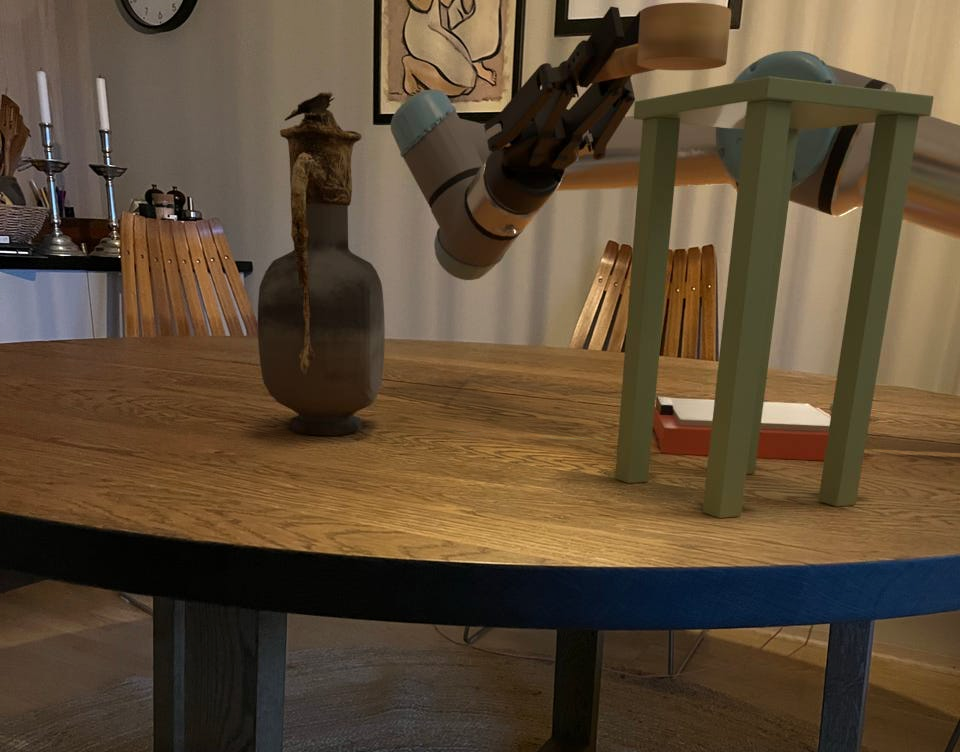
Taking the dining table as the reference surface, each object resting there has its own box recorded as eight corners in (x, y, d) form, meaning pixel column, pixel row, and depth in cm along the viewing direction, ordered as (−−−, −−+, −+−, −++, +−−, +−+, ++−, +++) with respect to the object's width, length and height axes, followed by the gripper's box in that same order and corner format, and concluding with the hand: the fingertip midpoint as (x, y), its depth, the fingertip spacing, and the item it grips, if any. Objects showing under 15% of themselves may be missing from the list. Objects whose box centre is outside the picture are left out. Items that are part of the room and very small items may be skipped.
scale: (815, 430, 112) (820, 398, 111) (857, 462, 96) (863, 425, 94) (649, 422, 114) (652, 391, 112) (662, 453, 97) (665, 416, 96)
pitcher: (390, 419, 111) (389, 106, 100) (364, 452, 93) (360, 76, 82) (289, 415, 111) (278, 103, 100) (244, 448, 93) (224, 73, 82)
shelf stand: (865, 506, 79) (934, 95, 69) (717, 520, 73) (768, 75, 63) (741, 467, 92) (783, 116, 81) (606, 477, 86) (634, 101, 76)
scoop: (744, 62, 80) (750, 7, 79) (670, 53, 77) (674, -3, 76) (605, 90, 97) (608, 45, 96) (540, 84, 95) (542, 38, 93)
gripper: (584, 218, 111) (714, 73, 89) (455, 212, 105) (561, 55, 83) (571, 153, 112) (697, -6, 90) (442, 143, 105) (544, -30, 84)
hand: (632, 24), depth 87 cm, fingers closed on scoop, 2 cm apart
